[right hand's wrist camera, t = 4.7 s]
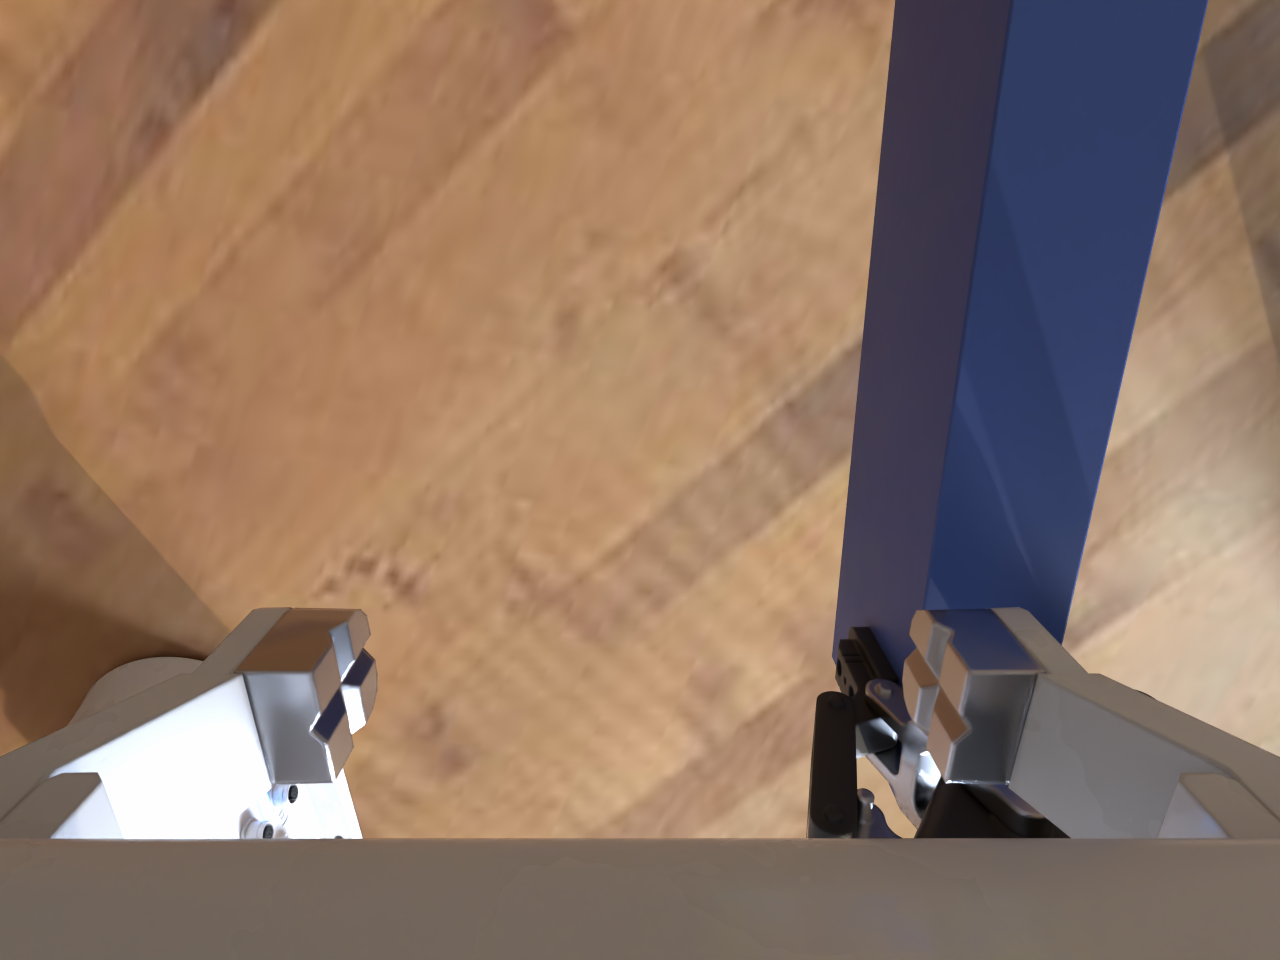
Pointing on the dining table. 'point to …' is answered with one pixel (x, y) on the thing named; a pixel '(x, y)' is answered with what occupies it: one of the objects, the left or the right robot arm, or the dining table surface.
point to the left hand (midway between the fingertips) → (922, 646)
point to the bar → (1002, 297)
